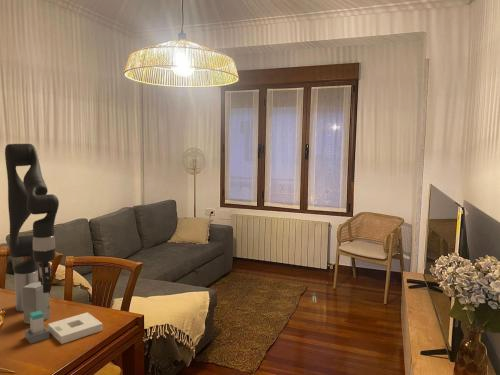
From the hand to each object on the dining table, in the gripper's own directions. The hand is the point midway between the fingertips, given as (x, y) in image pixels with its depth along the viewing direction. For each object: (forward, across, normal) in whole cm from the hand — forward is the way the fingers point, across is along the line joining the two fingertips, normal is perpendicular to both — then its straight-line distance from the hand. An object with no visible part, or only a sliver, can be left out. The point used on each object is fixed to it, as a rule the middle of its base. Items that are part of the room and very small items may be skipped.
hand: (45, 288), depth 150 cm
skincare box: (+21, -18, -2) cm, 28 cm away
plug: (+20, -2, -3) cm, 20 cm away
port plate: (+20, -1, +10) cm, 23 cm away
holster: (+20, -2, -3) cm, 20 cm away
